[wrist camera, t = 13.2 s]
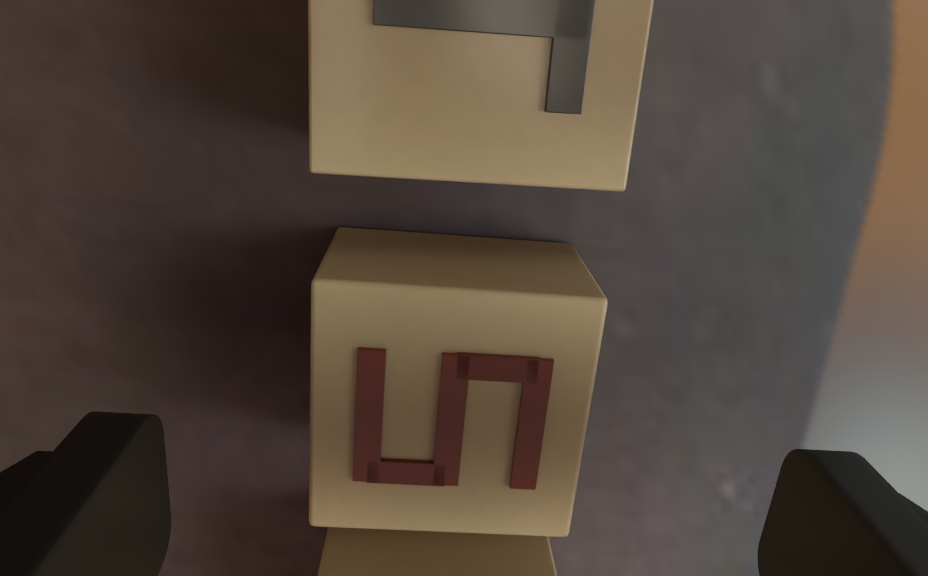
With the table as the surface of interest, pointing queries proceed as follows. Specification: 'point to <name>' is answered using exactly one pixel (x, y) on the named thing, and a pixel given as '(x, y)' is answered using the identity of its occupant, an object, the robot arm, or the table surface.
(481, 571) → the letter l tile
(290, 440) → the table surface
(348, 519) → the tile
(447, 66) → the letter t tile
